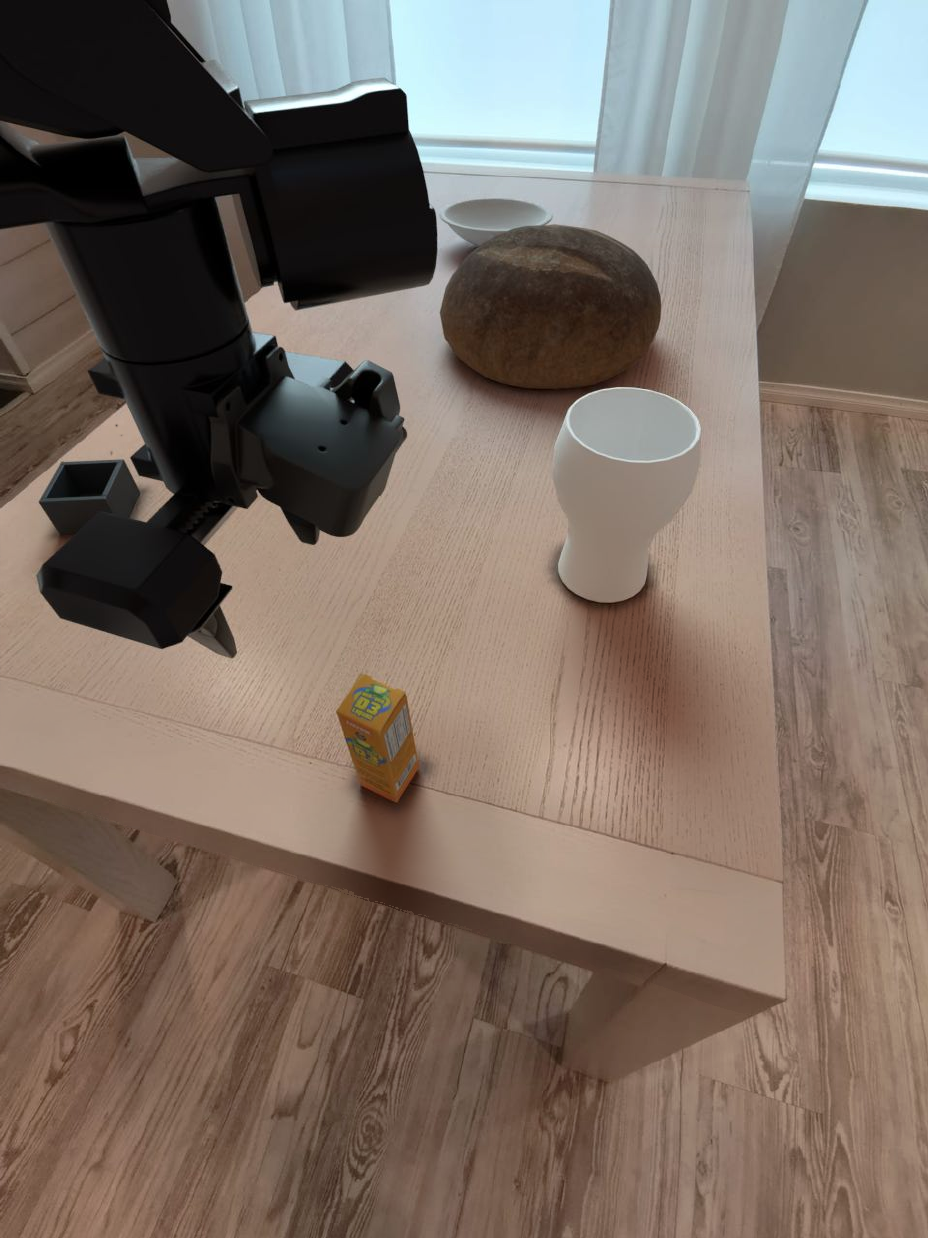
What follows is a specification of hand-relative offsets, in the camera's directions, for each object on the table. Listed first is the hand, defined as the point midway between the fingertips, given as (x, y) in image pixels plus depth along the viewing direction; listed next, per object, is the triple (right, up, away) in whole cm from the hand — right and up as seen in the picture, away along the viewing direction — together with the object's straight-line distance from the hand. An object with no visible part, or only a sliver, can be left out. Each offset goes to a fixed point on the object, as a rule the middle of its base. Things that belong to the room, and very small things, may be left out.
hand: (271, 594), depth 38 cm
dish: (+16, +58, +67) cm, 90 cm away
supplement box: (+6, -13, +8) cm, 16 cm away
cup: (+23, +3, +20) cm, 31 cm away
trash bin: (-24, +9, +26) cm, 37 cm away
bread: (+22, +34, +47) cm, 62 cm away
